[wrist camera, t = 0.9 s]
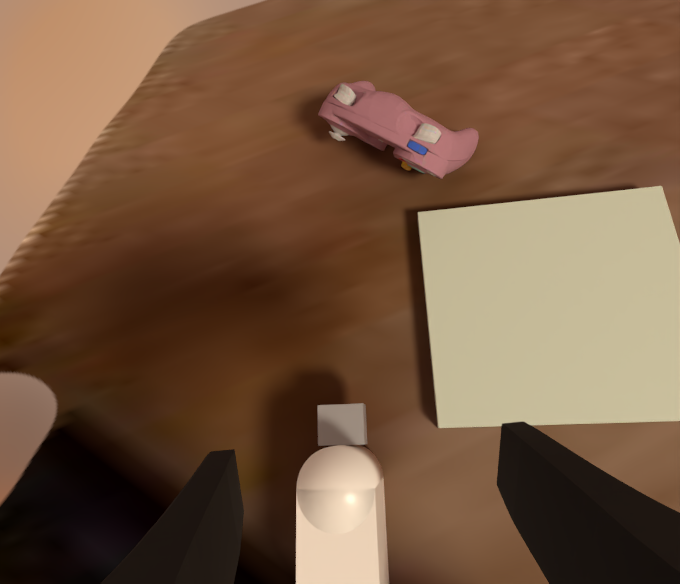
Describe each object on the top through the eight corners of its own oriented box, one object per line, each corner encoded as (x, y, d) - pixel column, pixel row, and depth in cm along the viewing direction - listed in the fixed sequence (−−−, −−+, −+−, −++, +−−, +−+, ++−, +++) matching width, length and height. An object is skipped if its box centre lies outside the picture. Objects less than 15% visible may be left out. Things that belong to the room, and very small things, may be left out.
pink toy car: (341, 143, 33) (294, 116, 26) (368, 85, 31) (326, 42, 25) (452, 201, 30) (430, 186, 23) (487, 139, 28) (474, 106, 22)
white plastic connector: (392, 648, 21) (385, 710, 16) (321, 644, 21) (295, 704, 17) (379, 406, 25) (370, 400, 20) (319, 408, 25) (296, 403, 20)
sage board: (717, 419, 21) (734, 419, 20) (437, 428, 24) (438, 427, 22) (650, 196, 26) (661, 185, 24) (417, 221, 28) (417, 212, 27)
